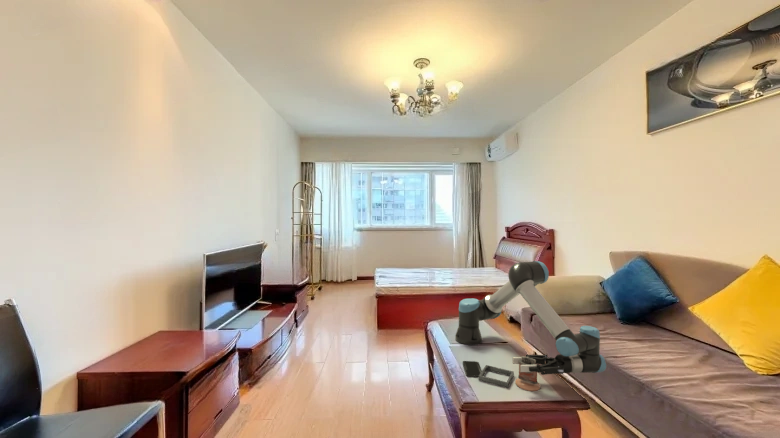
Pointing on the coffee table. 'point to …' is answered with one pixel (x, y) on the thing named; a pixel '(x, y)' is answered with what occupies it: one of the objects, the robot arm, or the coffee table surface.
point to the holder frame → (495, 381)
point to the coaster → (527, 385)
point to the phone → (472, 368)
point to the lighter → (527, 376)
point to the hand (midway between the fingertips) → (516, 364)
